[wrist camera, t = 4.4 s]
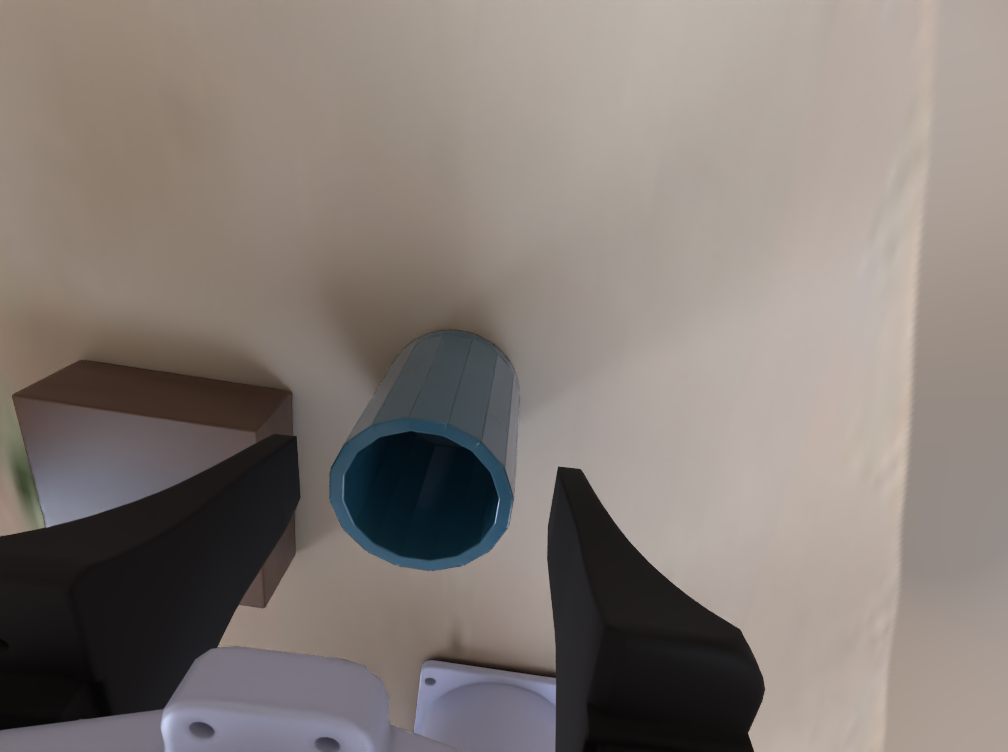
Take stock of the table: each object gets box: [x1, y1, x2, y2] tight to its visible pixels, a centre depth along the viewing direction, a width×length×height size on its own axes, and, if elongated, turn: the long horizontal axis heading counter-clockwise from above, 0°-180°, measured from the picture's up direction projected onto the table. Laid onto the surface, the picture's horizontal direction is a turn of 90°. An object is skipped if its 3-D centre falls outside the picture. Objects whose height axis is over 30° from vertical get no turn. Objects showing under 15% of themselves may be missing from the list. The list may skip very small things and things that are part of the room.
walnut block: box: [12, 360, 295, 608], centre depth 21 cm, size 8×8×3 cm
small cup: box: [329, 330, 520, 571], centre depth 17 cm, size 5×5×6 cm
